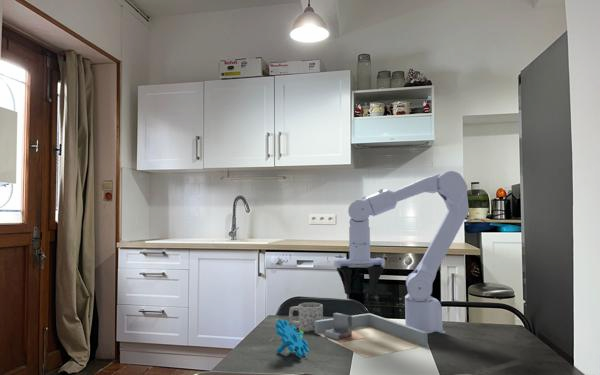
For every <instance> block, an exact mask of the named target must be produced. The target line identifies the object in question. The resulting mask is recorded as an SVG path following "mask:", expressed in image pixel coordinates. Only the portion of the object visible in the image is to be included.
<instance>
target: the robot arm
mask: <svg viewBox="0 0 600 375" xmlns="http://www.w3.org/2000/svg"><path fill="white" fill-rule="evenodd" d="M377 191H378V192H376V193H374V194H371V195H369V196H367V197H366V195H365V196H364V195H363V196H362V197H361V199H356V200H355V201H353V202H351V203H350V205H349V206H348V209H347V210H348V211H347V212H348V216H349V217H350V218H349V227H348V229H349V230H348V236H349V243H348V244H349V258H347V259H335V260H334V268H336V272H337V273H338V275H339V277H340V280H341V283H342V284H343V290H344V294H346V295H351V286H352V285H351V282H352V281H351V279H352V272H353V270H352V269H350V268H359V267H367V270H368V271H367V272H368V273H367V274H368V279H369V281H368V283H369V285H368V286H369V287H368V288H369V292H370V293H373V294H374V293H375V294H376V291H377V287H378V284H379V283H378V282H379V279H380V277H381V276H382V274H383V272H384V267H385V264H386V262H385V260H386V259H385V258H371V228H370V223H369V222H370V220H369V217H370V216H373V217H375V216H378V215H381V214H383V213H386V212H389V211H391V210H393V209H395V208H396V206H397V204H398V203H399V202H401V201H403V200H406V199H409V198H412V197H415V196H418V195H420V194H423V193H428V194H436V193H437V194H438V195H439V196H440V197H441V198H442V199H443V201H444V203H445V207H446V208H447V212H446V214H445V215H444V217H443V219H442V220H441V223H440V225H439V226H438V228H437V230H436V233H435V234H434V236H433V238H432V240H431V242H430V244H429V246H428V247H427V249H426V251H425V253H424V254H423V257H422V258H421V260H420V261H419V263H418V264H417V265H416V267H415V269H414V270H413V271H412V272H411V273H409V274H408V275H407V277H406V279H405V286H406V290H407V294H406V295H405V296H404V305H405V306H404V308H405V309H404V310H405V311H404V312H405V324H404V325H407V326H410V327H413V328H416V329H419V330H422V331H425V332H427V335H428V334H431V333H434V332H435V333H436V332H437V333H440V334H446V331H445V330H444V329H443V307H442V304H441V302H440V301H439V300H438V299H437V298H435V297H433V295H432V294H433V283H434V281H435V279H436V276H437V272H438V271H439V270H438V269H439V268H440V266H441V264H442V262H443V260H444V259H445V257H446V255H447V253H448V251H449V249H450V247H451V245H452V243H454V240H455V238H456V237H457V234H458V233H459V231H460V229H461V226H462V225H463V223H464V221H465V219H466V218H467V216H468V213H469V211H470V209H469V200H468V199H469V198H468V184H467V183H466V181H465V179H464V178H463V175H461V174H460V173H459V172H457V171H454V170H449V171H446V172H444V173H442V174H441V173H438V174H434V175H431V176H427V177H423V178H422V179H419V180H417V181H414V182H412V183H410V184H407V185H406V186H403V187H401V188H399V189H397V190H393V191H392V190H391V189H387V188H385V189H384V190H383V188H380V189H379V190H377Z"/></svg>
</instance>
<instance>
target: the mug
mask: <svg viewBox="0 0 600 375" xmlns="http://www.w3.org/2000/svg"><path fill="white" fill-rule="evenodd" d="M294 311H297V312H298V320H297V321H296V320H294V318H293V313H294ZM323 313H324V307H323V304H322V303H318V302H302V303H299V304H298V305H297V306H291V307H289V313H288V319H289V323H290V324H291V325H294V326H295V327H296V326H297V327H298V332H299V331H300V330H302V331H303V333H304V332H305V333H306V332H312V331H315V321H316V320H324V318H323V317H324V314H323Z"/></svg>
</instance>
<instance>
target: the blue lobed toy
mask: <svg viewBox="0 0 600 375" xmlns="http://www.w3.org/2000/svg"><path fill="white" fill-rule="evenodd" d="M290 324H291V323H290V321H288V320H287V319H285V320H284V319H282V318H279V319H278V320H277V323H275V325H274V326H275V328H277V329H276V334H277V335H278V336H279V337H280V336H281V338H280V341H281V343H282V344H281V345H280V346H279V347H278V348H277V349H276V351H275V352H276V353H277V354H278V355H280V354H281V353H282V352H283V351H284V350H285V349H286V348H287V349H288V350H289V352H290V353H293V352H294V351H296V352H295V355H296V356H297V357H299V358H301V357H303V358H307V357H306V355H307V354H308V352H309V351H310V348H309V347H308V345H309V343H308V341H307V340H305V339H303V338H304V332H303V331H302V330H300V331H299V330H298V331H296V330H297V327H296V325H294V324H291V326H290Z"/></svg>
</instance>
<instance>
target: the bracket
mask: <svg viewBox="0 0 600 375" xmlns="http://www.w3.org/2000/svg"><path fill="white" fill-rule="evenodd" d="M332 316H333V329H329V330H326V331H324V336H326V337H329V338H333V339H336V340H341V339H344V338H347V337H351V336H352V316H353V315H349V314H344V313H339V312H333V313H332Z"/></svg>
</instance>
